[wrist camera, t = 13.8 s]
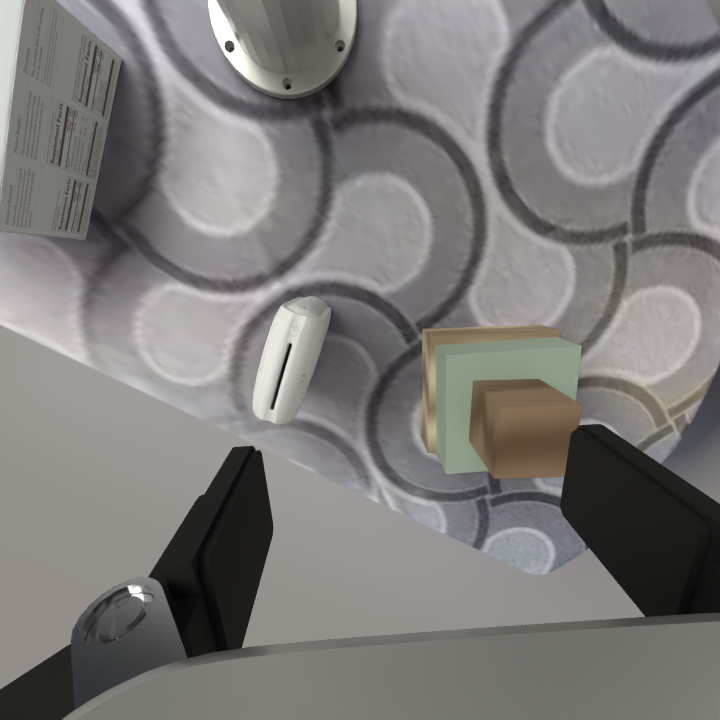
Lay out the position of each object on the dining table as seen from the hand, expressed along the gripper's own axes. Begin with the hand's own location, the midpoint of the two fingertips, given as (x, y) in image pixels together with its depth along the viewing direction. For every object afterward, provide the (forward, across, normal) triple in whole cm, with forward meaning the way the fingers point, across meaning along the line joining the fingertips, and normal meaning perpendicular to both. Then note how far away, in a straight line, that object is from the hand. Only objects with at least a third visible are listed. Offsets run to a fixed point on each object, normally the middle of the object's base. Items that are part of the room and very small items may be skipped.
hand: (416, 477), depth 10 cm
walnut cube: (+20, -12, +8) cm, 24 cm away
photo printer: (+28, +7, +2) cm, 29 cm away
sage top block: (+23, -12, +8) cm, 28 cm away
